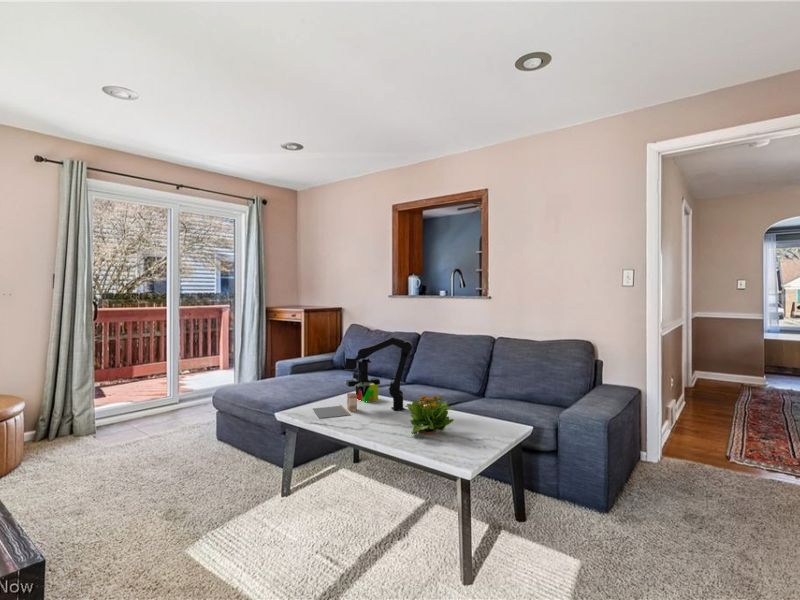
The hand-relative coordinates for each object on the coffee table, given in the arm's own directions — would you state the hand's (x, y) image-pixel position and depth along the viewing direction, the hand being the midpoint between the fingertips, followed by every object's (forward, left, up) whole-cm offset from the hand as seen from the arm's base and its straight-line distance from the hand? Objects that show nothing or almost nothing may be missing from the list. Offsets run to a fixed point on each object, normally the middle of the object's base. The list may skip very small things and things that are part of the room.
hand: (363, 397), depth 240 cm
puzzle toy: (+20, -8, -7) cm, 23 cm away
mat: (0, +19, -7) cm, 20 cm away
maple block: (0, +7, -7) cm, 9 cm away
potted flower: (-49, -17, -7) cm, 52 cm away
